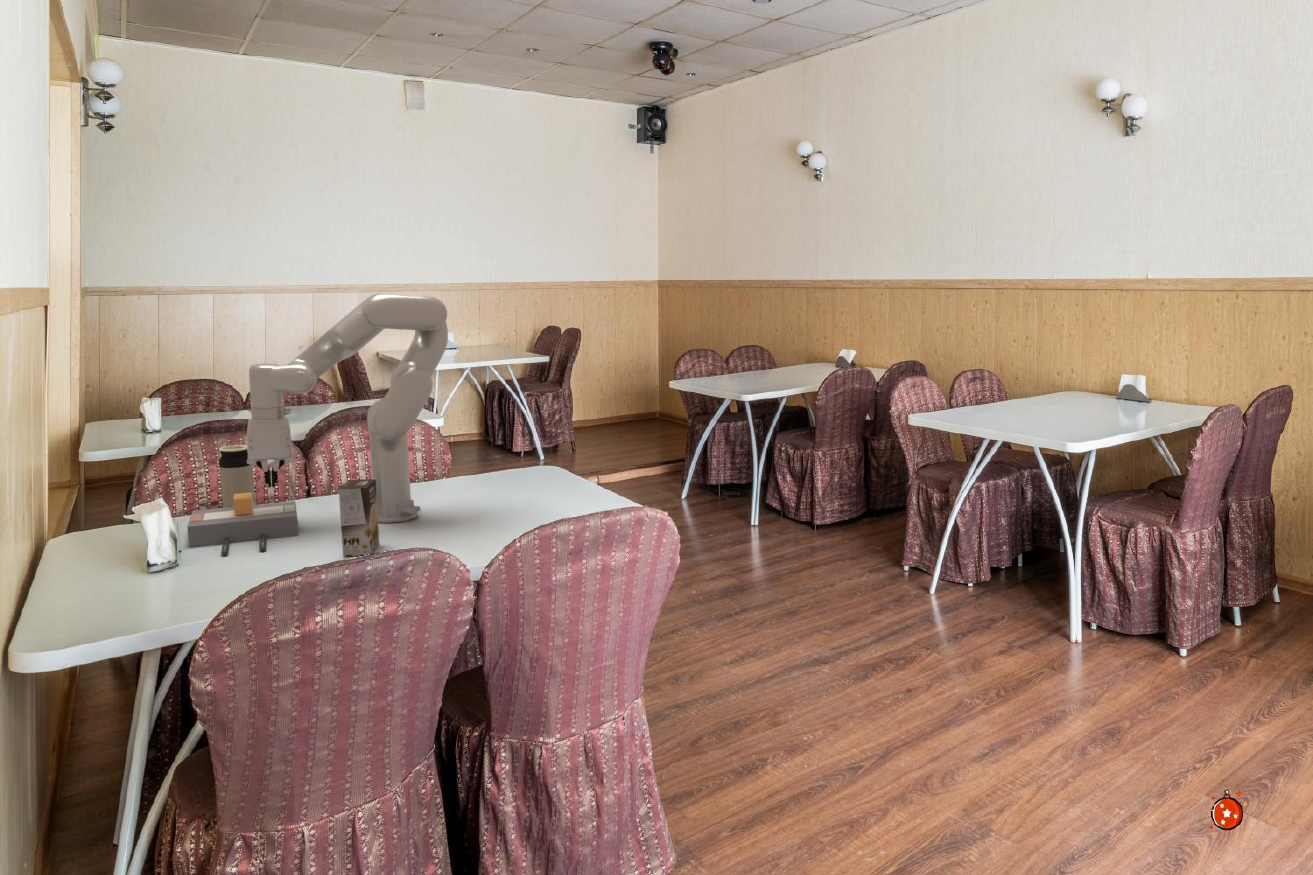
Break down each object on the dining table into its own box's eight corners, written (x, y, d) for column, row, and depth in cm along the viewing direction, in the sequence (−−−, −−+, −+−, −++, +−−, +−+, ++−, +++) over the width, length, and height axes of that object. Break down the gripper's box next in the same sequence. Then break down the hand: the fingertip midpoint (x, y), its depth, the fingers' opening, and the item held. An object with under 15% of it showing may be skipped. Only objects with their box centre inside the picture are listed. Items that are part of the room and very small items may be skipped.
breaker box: (296, 519, 231) (295, 500, 231) (300, 547, 207) (298, 526, 206) (194, 529, 222) (192, 510, 221) (185, 561, 197) (182, 539, 196)
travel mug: (240, 517, 234) (234, 451, 231) (217, 514, 236) (210, 449, 233) (262, 509, 241) (257, 445, 238) (239, 507, 244) (233, 443, 240)
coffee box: (371, 556, 201) (366, 487, 198) (342, 556, 200) (337, 488, 197) (380, 544, 210) (376, 478, 207) (352, 544, 209) (348, 479, 206)
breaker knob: (253, 507, 222) (251, 492, 221) (252, 513, 217) (251, 497, 216) (235, 509, 221) (234, 493, 220) (234, 515, 215) (233, 499, 214)
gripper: (300, 410, 224) (303, 481, 227) (235, 412, 218) (239, 485, 221) (301, 414, 217) (304, 487, 220) (234, 417, 211) (238, 491, 214)
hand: (271, 486), depth 220 cm, fingers closed
